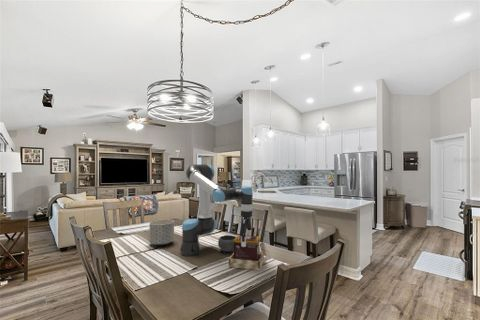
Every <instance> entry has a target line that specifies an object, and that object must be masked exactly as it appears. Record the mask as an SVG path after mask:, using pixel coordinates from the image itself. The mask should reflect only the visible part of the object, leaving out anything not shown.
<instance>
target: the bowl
mask: <svg viewBox="0 0 480 320" xmlns="http://www.w3.org/2000/svg"><path fill="white" fill-rule="evenodd" d="M236 237H237V236H235V235H229V234H225V235H221V236H220V237H219V238H218V241H217V242H218V243H217V245H218V247H219V249H220V250H221V251H223V252H226V253H227V252H228V253H230V252H234V239H235V238H236Z"/></svg>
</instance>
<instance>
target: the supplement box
mask: <svg viewBox="0 0 480 320" xmlns="http://www.w3.org/2000/svg"><path fill="white" fill-rule="evenodd" d="M240 235H241V234H238V235H236V236H235V237H236V238H235V239H234V251H233V253H234V259H242V260H252V261H259V253H260V236H258V235H257V236H255V235H251V236H247V235H246V247H242V246H241V236H240Z"/></svg>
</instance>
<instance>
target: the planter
mask: <svg viewBox="0 0 480 320" xmlns="http://www.w3.org/2000/svg"><path fill="white" fill-rule="evenodd" d="M148 239H149V243H150V244H152V245H155V246H157V247H162V246H163V247H164V246H167V245H169V244H170V243H172V242H173V241H174V240H175V220H173V219H168V218H167V219H165V218H164V219H155V220H152V221H149V238H148Z"/></svg>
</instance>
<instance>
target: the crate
mask: <svg viewBox="0 0 480 320" xmlns="http://www.w3.org/2000/svg"><path fill="white" fill-rule="evenodd" d="M264 262H265V253H264V252H259V261H252V260H242V259H234V252H233V253H232V254H231V255H230V256H229V257H228V268H236V269H237V268H238V269H244V268H245V269H244V270H253V269H254V271H261V269H262V266H263V264H264Z"/></svg>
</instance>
